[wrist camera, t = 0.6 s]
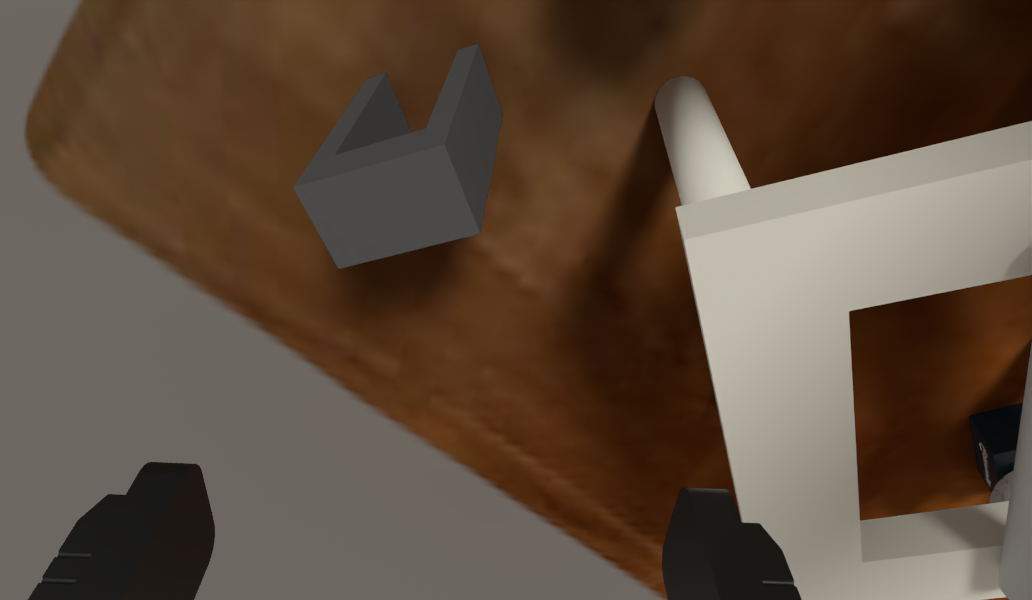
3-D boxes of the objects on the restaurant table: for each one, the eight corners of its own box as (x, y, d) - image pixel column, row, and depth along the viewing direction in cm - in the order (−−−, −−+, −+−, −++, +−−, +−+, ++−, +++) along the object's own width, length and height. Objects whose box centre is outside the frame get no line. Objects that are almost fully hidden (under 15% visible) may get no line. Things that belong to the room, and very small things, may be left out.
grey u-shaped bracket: (478, 43, 31) (444, 144, 23) (502, 115, 33) (480, 233, 25) (366, 78, 33) (293, 187, 24) (396, 145, 35) (338, 269, 26)
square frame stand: (1173, -73, 27) (1715, 54, 14) (1089, 343, 39) (1342, 613, 27) (642, 80, 32) (693, 278, 19) (713, 409, 44) (773, 665, 31)
